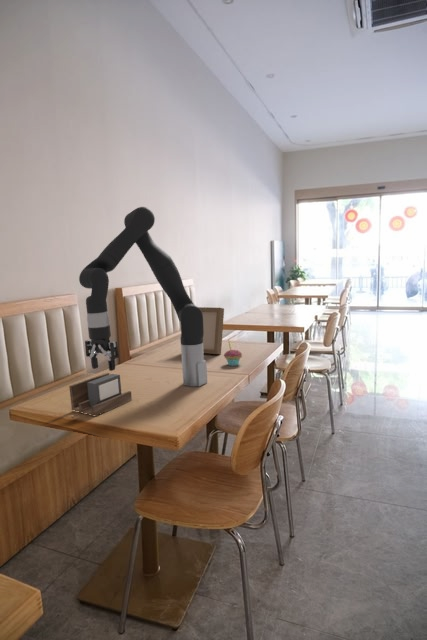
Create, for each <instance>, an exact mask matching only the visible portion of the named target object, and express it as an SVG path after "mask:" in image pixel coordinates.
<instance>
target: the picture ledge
mask: <svg viewBox="0 0 427 640" xmlns="http://www.w3.org/2000/svg"><path fill="white" fill-rule="evenodd" d="M107 375H110V372H105V373H102V374H100V375H97V376H96V375H95V376H94V377H93V376H92V377H91V378H88V379H85V380H82V381H79V382H77V383H74V384H73V383H72V384H71V385H69V387H68V388H69V394H70V395H69V396H70V402H71V403H70V405H71V411H72V410H75V411H79V412H83V413H87V414H91V415H98V414H100V413H102V414H104V413H103V412H105V411H107V412H109V411H111V410H114V409H116V408H118V407H120V406H122V404H123V405H125V404H127V403H129V402H131V401H132V400H133V397H132V391H131V390H128V391H125V392H123V393H122V394H120V395H118V396H116V397H113V398H111V399H108V400H106V401H104V402H101V403H99V404H97V405H94V406H92V407H90V406H89V396H88V386H87V382H90V381H93V380H96V379H99V378H102V377H104V376H107ZM117 406H118V407H117ZM115 407H116V408H115ZM113 408H114V409H113ZM110 409H111V410H110ZM108 410H109V411H108ZM105 413H106V412H105ZM100 415H101V414H100ZM98 416H99V415H98Z"/></svg>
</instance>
